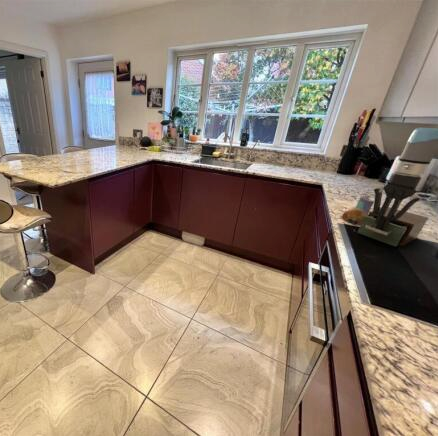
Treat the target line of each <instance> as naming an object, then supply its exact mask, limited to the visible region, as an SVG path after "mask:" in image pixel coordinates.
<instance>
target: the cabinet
mask: <svg viewBox="0 0 438 436" xmlns="http://www.w3.org/2000/svg"><path fill="white" fill-rule="evenodd" d="M380 209H381V207H380ZM390 209H391V207H390V206H389V207H388V209H387V211H386V213H385V215H384V216H385V217H387V215H388V213H389V211H390ZM400 210H401V209H397V211H396V213H395V215H396V214H397V213H398V212H399V211H400ZM373 215H375V216H377V214H375V213H373V210H370V211H369V213H368V216H369V217H370V216H373ZM395 215H394V216H395ZM428 220H429V217H427V216H423V215H419V214H416V213H413V212H409V211H406V212H405V213H404V214H403V215H402V216H401V217H400V218H399V219H396V220H395V219H392V221H395V222H399V223H402V224H405V225H409V226H410V227H409V229H408V230H407V232H406V234H405V236H404V237H403V239H402V241H400V242H399V243H398V245H397V246H401V247H403V246H405V245H406V244H409V243H410V242H412V241H413V240H415V239H418V236H419V235H420V234H421V232H422V230H423V228H424V227H425V225H426V223H427V222H428Z"/></svg>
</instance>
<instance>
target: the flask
mask: <svg viewBox="0 0 438 436" xmlns="http://www.w3.org/2000/svg"><path fill="white" fill-rule="evenodd" d="M370 197H371V195H369V194H365V195H360V197H359V199H358V202H357V203H356V206H355V207H354V208H355V209H360V210H363V211H364V212H366V213H367V214H369V212H370V211H371V209H372V207H373V206H374V200H372V199H370Z"/></svg>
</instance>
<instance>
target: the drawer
mask: <svg viewBox="0 0 438 436" xmlns="http://www.w3.org/2000/svg"><path fill="white" fill-rule="evenodd" d="M376 218H377V216H375V215H373V216H370V217H369V216H365V217H364V220H363V222H362V224H360V225H359V228H358V230H357V234H360V235H363V236H364V237H365V236H366V237H368V238H371V239H373V240H376V241H379V242H382V243H384V244H387V245H389V246H393V247H398V246H399V245H398V243H399V242H400V241H402V239H403V237H404V236H405V234H406V232H407V230H408V229H409V227H410V226H409V225H405V224H402V223H399V222H395V221H392V220H391V221H390V223H389V225H388V226H386V227H385V226H384V227H383V229H382V230H379V229H376V228H375V227H376V225H377V224H375V220H376ZM374 232H375V233H374ZM377 233H378V234H377Z"/></svg>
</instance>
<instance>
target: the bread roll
mask: <svg viewBox="0 0 438 436" xmlns="http://www.w3.org/2000/svg"><path fill="white" fill-rule="evenodd" d="M355 208H356V207H354V208H350V209H348V210H345V211H344V212H343V213H342V215H341V219H342V220H343V221H344V222H347V223H350V224H354V225H361V224H362V222H363V220H364V217H365V216H368V214H369V213H368V214H367V213H366V212H364V211H363V210H360V209H355Z"/></svg>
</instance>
